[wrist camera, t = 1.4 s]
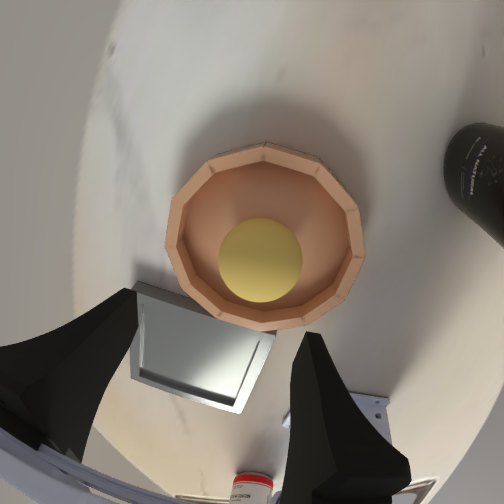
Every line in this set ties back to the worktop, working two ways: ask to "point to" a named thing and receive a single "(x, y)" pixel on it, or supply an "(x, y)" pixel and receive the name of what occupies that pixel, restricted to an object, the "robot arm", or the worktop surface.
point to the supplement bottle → (478, 176)
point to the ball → (260, 260)
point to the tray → (195, 350)
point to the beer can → (251, 489)
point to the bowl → (273, 207)
